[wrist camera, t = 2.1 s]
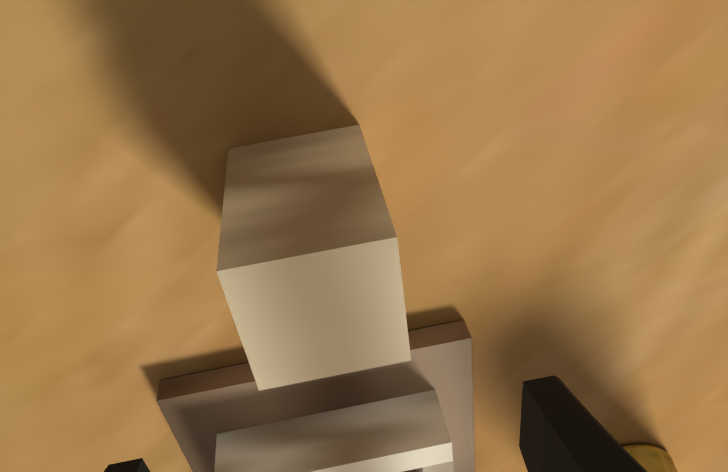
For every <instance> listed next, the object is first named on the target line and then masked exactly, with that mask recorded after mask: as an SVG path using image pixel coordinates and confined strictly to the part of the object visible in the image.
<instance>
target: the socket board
mask: <svg viewBox="0 0 728 472" xmlns="http://www.w3.org/2000/svg"><path fill="white" fill-rule="evenodd" d="M408 336H409V345H410V354H411V360H410V361H405V362H400V363H395V364H390V365H385V366H380V367H375V368H370V369H365V370H360V371H355V372H350V373H345V374H340V375H335V376H330V377H325V378H320V379H315V380H310V381H305V382H300V383H295V384H290V385H285V386H280V387H275V388H270V389H265V390H260V391H259V390H258V387H257V384H256V381H255V378H254V375H253V373H252V370H251V367H250V364H249V363H245V364H240V365H235V366H230V367H225V368H220V369H215V370H210V371H205V372H200V373H195V374H190V375H184V376H179V377H174V378H169V379H164V380H160V385H159V390H158V396H157V403H158V405H159V407H160V408H161V410H162V412H163V414H164V416H165V418H166V420H167V422H168V424H169V426H170V428H171V430H172V432H173V433H174V435H175V437H176V439H177V441H178V443H179V445H180V447H181V449H182V451H183V453H184V455H185V457H186V458H187V460H188V462H189V464H190V466H191V468H192V470H193V472H475V454H474V416H473V377H472V338H471V336H470V333H469V331H468V328H467V326H466V324H465V321H464V320H461V321H456V322H451V323H446V324H441V325H436V326H431V327H426V328H421V329H416V330H411V331H408Z"/></svg>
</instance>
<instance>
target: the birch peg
mask: <svg viewBox="0 0 728 472" xmlns="http://www.w3.org/2000/svg"><path fill="white" fill-rule="evenodd" d="M217 274H218V277H219V280H220V282H221V285H222V288H223V291H224V294H225V296H226V299H227V302H228V305H229V308H230V311H231V313H232V316H233V319H234V322H235V325H236V327H237V330H238V333H239V336H240V339H241V342H242V344H243V347H244V350H245V353H246V356H247V359H248V361H249V364H250V367H251V370H252V373H253V375H254V378H255V381H256V384H257V387H258V390H259V391H260V390H265V389H270V388H275V387H280V386H285V385H290V384H295V383H300V382H305V381H310V380H315V379H320V378H325V377H330V376H335V375H340V374H345V373H350V372H355V371H360V370H365V369H370V368H375V367H380V366H385V365H390V364H395V363H400V362H405V361H410V360H411V354H410V345H409V336H408V328H407V319H406V310H405V302H404V293H403V284H402V276H401V267H400V258H399V250H398V241H397V235H396V232H395V229H394V226H393V223H392V220H391V217H390V214H389V211H388V208H387V206H386V203H385V200H384V197H383V194H382V191H381V188H380V185H379V182H378V179H377V176H376V173H375V170H374V167H373V164H372V161H371V158H370V155H369V152H368V149H367V146H366V143H365V140H364V137H363V134H362V131H361V128H360V125H354V126H349V127H343V128H338V129H332V130H327V131H321V132H316V133H310V134H305V135H299V136H294V137H288V138H283V139H277V140H272V141H266V142H261V143H255V144H250V145H244V146H238V147H233V148H228V157H227V168H226V178H225V189H224V199H223V210H222V220H221V230H220V241H219V251H218V262H217Z"/></svg>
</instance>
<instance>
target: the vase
mask: <svg viewBox="0 0 728 472" xmlns="http://www.w3.org/2000/svg"><path fill="white" fill-rule="evenodd" d="M622 447H623V448H624V449H625V450H626V451H627V452H628V453H629V454H630V455H631V456H632V457H633V458H634V459H635V460H636V461H637V462H638V463H639V464H640V465H641V466H642V467H643V468H644V469H645V470H646V471H648V472H678V471H677V469H676V467H675V465H674V463H673V460H672V458H671V456H670V455H669V454H668V453H667V452H665V451H664V450H662V449H660V448H658V447H655V446H651V445H643V444H636V445H626V446H622Z"/></svg>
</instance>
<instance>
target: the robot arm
mask: <svg viewBox="0 0 728 472" xmlns="http://www.w3.org/2000/svg"><path fill="white" fill-rule="evenodd" d="M519 447H520V450H521V453H522V456H523V459H524V462H525V464H526V467H527V470H528V472H648V471H646V470H645V469H644V468H643V467H642V466H641V465H640V464H639V463H638V462H637V461H636V460H635V459H634V458H633V457H632V456H631V455H630V454H629V453H628V452H627V451H626V450H625V449H624V448H623V447H622V446H621V445H620V444H619V443H618V442H617V441H616V440H615V439H614V438H613V437H612V436H611V435H610V434H609V433H608V432H607V430H606V429H605V428H604V427H603V426H602V425H601V424H600V423H599V422H598V421H597V420H596V419H595V418H594V417H593V416H592V415H591V414H590V412H589V411H588V410H587V409H586V408H585V407H584V406H583V405H582V404H581V403H580V402H579V400H578V399H577V398H576V397H575V396H574V395H573V394H572V393H571V391H570V390H569V389H568V388H567V387H566V386H565V385H564V383H563V382H562V381H561V380H560V379H559V378H558V377H556V376H549V377H544V378H539V379H534V380H529V381H524V382H523V390H522V408H521V426H520V443H519ZM104 472H150V471H149V469H148V467H147V466H146V464H145V462H144V461H143V459H142V458H141V459H136V460H131V461H126V462H121V463H116V464H111V465H108V467H107V468H106V469H105V471H104Z"/></svg>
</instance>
